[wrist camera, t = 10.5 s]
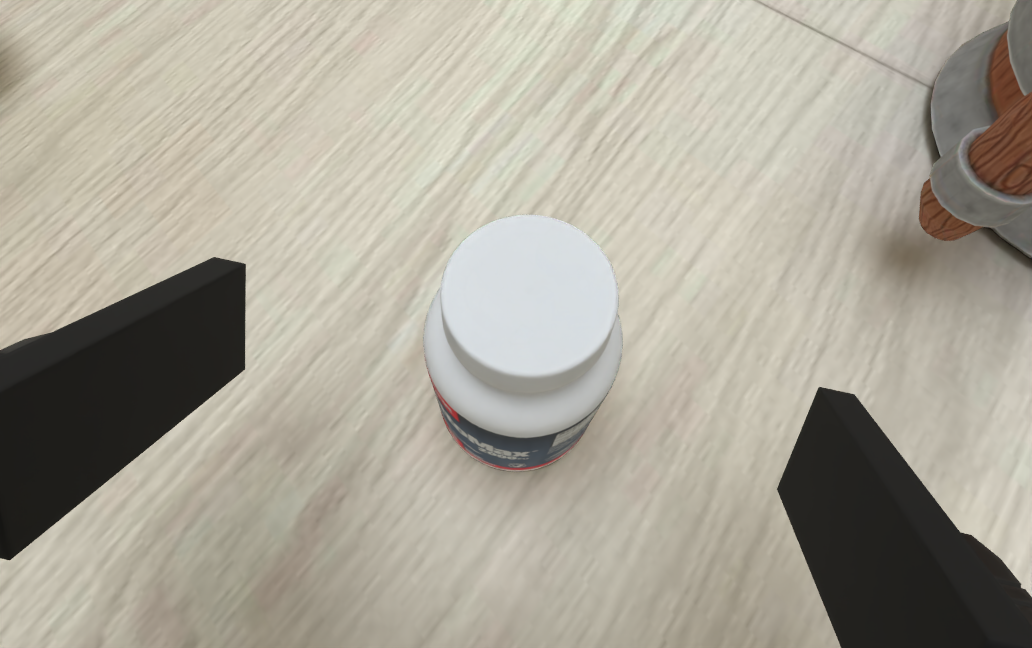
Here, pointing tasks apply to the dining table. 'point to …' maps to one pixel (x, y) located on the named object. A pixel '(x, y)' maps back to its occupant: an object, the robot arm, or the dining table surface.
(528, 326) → the pill bottle
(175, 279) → the robot arm
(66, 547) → the dining table surface
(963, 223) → the mug
